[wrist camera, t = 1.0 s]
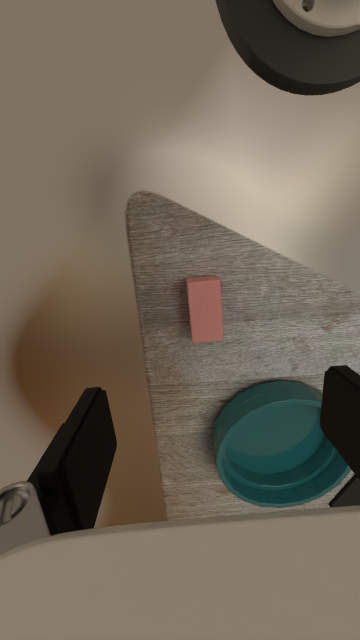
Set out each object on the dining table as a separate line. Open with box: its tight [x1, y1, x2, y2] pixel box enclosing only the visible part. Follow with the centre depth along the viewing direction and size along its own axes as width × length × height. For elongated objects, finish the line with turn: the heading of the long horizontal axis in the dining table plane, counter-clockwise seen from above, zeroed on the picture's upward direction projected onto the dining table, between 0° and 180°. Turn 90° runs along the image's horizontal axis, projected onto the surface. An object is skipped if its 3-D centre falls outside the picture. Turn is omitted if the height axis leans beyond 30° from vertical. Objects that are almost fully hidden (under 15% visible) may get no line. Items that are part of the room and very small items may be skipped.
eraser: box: [186, 275, 223, 343], centre depth 24 cm, size 6×3×2 cm, turn 6°
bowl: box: [212, 381, 351, 508], centre depth 29 cm, size 15×15×4 cm
